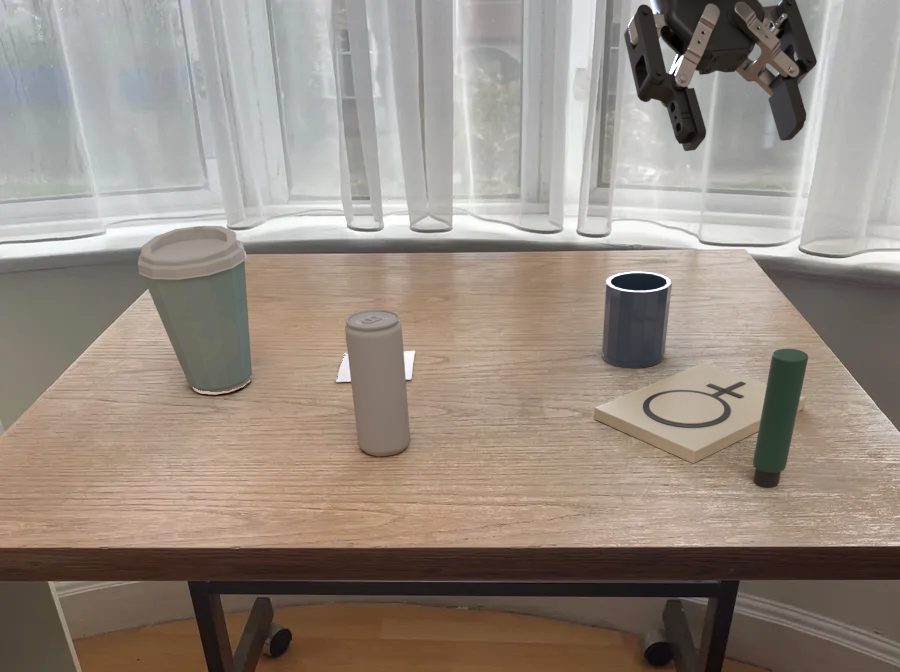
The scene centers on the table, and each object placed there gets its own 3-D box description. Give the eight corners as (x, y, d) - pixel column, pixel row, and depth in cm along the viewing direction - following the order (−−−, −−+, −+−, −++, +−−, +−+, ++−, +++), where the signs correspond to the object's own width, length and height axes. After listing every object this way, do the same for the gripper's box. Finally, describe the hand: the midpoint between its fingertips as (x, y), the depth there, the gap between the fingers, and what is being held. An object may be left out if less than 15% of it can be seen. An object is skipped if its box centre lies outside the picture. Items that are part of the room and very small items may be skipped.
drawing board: (703, 372, 93) (705, 359, 92) (804, 409, 85) (807, 395, 84) (593, 419, 85) (594, 405, 85) (693, 463, 78) (695, 449, 77)
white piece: (411, 379, 94) (410, 372, 94) (335, 382, 95) (334, 374, 94) (415, 350, 101) (414, 343, 100) (344, 353, 101) (343, 346, 101)
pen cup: (630, 340, 101) (636, 267, 96) (676, 356, 97) (685, 281, 92) (588, 355, 98) (592, 281, 93) (634, 373, 94) (640, 296, 89)
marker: (762, 470, 76) (786, 345, 70) (788, 482, 75) (815, 354, 68) (743, 481, 75) (765, 354, 68) (769, 492, 73) (794, 364, 67)
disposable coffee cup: (258, 404, 91) (230, 252, 82) (154, 407, 92) (115, 256, 83) (277, 363, 100) (254, 221, 91) (182, 366, 100) (149, 225, 91)
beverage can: (421, 445, 83) (412, 316, 75) (382, 464, 80) (369, 332, 73) (387, 429, 86) (375, 304, 78) (347, 447, 83) (332, 319, 76)
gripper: (626, -99, 63) (687, 115, 62) (796, -104, 67) (857, 98, 66) (586, -15, 71) (640, 178, 70) (741, -24, 74) (795, 159, 73)
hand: (745, 139), depth 68 cm, fingers open, 8 cm apart
